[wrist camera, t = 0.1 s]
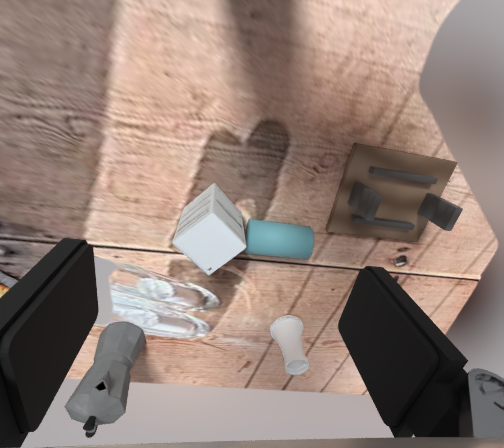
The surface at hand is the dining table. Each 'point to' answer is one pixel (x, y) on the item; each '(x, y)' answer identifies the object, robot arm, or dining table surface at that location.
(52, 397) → the robot arm
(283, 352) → the vase
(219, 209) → the supplement box
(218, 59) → the dining table surface
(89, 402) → the coffeepot
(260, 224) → the light blue cylinder
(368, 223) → the roll holder
